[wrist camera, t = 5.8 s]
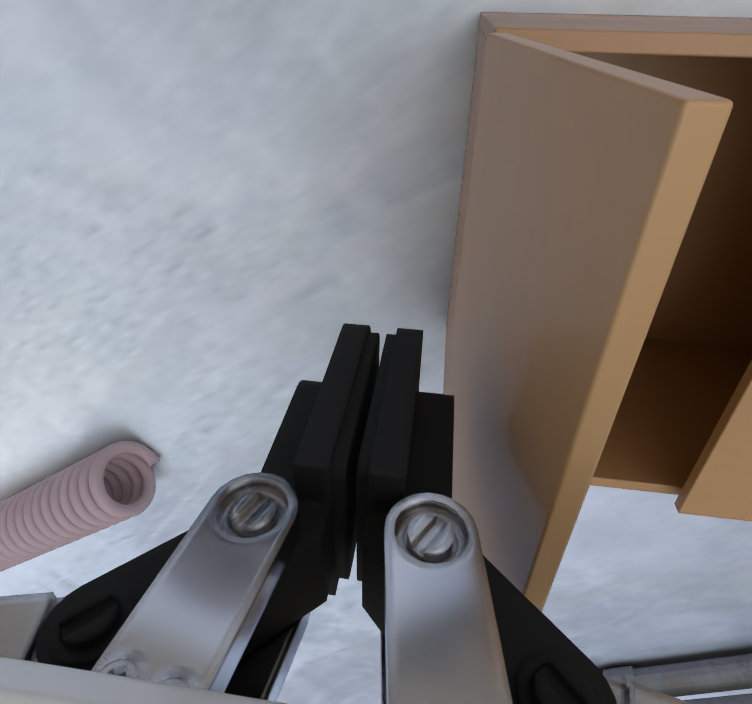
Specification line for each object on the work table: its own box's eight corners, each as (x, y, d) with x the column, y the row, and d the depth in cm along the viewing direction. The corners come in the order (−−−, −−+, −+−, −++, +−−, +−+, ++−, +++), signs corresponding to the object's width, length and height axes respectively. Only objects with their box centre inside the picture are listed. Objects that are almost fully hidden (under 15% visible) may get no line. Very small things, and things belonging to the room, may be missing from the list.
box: (446, 324, 25) (439, 486, 17) (480, 11, 18) (497, 29, 10) (768, 351, 24) (932, 543, 16) (950, 22, 16) (1451, 54, 8)
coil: (-7, 588, 38) (148, 527, 31) (-69, 559, 36) (83, 486, 29) (30, 531, 42) (177, 464, 35) (-24, 502, 40) (121, 423, 32)
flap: (445, 483, 17) (433, 483, 17) (508, 32, 10) (487, 32, 10) (492, 746, 11) (473, 746, 11) (739, 100, 4) (684, 99, 4)
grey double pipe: (854, 626, 34) (907, 712, 30) (860, 647, 36) (912, 731, 31) (497, 676, 45) (501, 745, 41) (511, 691, 46) (516, 759, 42)
